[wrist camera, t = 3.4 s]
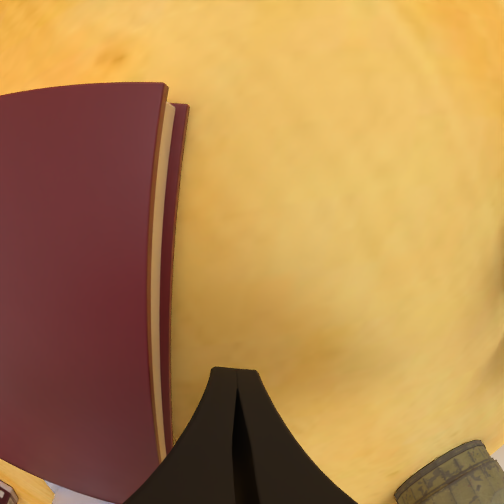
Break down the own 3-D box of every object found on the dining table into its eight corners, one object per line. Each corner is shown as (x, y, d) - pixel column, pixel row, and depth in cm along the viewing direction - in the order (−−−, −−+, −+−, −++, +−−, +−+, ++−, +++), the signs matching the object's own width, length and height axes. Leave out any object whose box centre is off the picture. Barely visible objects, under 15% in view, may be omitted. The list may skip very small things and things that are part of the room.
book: (174, 465, 13) (168, 515, 10) (4, 414, 12) (-17, 449, 9) (189, 105, 8) (165, 81, 5) (-53, 123, 7) (-106, 129, 4)
